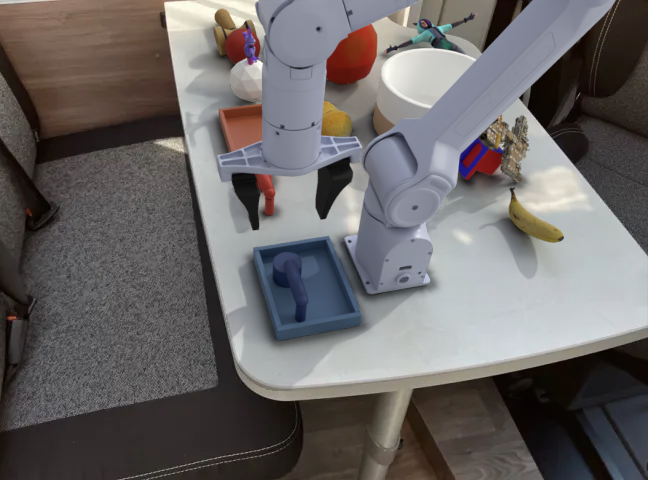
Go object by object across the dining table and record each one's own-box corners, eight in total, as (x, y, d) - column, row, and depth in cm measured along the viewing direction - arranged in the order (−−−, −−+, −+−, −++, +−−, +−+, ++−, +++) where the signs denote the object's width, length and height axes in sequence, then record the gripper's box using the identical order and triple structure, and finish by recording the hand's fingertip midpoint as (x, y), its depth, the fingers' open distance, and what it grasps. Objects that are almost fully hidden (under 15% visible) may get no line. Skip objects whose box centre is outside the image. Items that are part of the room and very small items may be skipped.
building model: (527, 122, 86) (539, 121, 85) (521, 187, 86) (533, 187, 85) (477, 96, 75) (490, 94, 74) (471, 170, 76) (483, 170, 74)
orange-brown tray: (294, 161, 86) (294, 151, 85) (234, 169, 85) (233, 159, 83) (274, 112, 94) (274, 102, 93) (218, 119, 93) (218, 108, 91)
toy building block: (483, 184, 86) (521, 139, 82) (464, 178, 84) (502, 132, 79) (471, 169, 88) (507, 124, 84) (451, 163, 86) (488, 117, 81)
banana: (559, 256, 75) (571, 234, 72) (543, 261, 74) (555, 239, 71) (510, 206, 81) (520, 183, 78) (495, 210, 80) (504, 187, 77)
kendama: (199, 34, 113) (222, 70, 100) (201, -1, 109) (226, 31, 96) (238, 37, 116) (266, 71, 103) (242, 2, 112) (271, 34, 99)
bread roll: (324, 156, 87) (326, 133, 84) (284, 128, 92) (285, 105, 89) (364, 135, 91) (367, 112, 88) (324, 109, 95) (326, 86, 92)
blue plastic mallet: (316, 321, 67) (319, 298, 64) (287, 326, 66) (288, 303, 63) (297, 264, 72) (298, 241, 69) (269, 269, 72) (270, 245, 69)
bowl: (449, 88, 100) (462, 41, 94) (505, 148, 89) (524, 99, 83) (355, 104, 96) (361, 56, 90) (402, 169, 85) (413, 119, 79)
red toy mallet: (283, 214, 79) (284, 190, 76) (258, 218, 78) (257, 194, 75) (268, 172, 84) (268, 149, 81) (244, 176, 84) (244, 152, 81)
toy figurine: (276, 113, 94) (278, 40, 85) (234, 117, 93) (231, 44, 84) (265, 81, 100) (265, 10, 91) (225, 85, 99) (222, 13, 90)
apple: (342, 102, 97) (349, 33, 88) (300, 76, 102) (304, 8, 93) (384, 81, 101) (396, 14, 93) (343, 57, 106) (350, -9, 98)
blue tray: (360, 325, 67) (362, 315, 66) (277, 341, 65) (277, 330, 64) (327, 246, 75) (329, 235, 74) (253, 258, 73) (253, 247, 72)
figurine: (433, 95, 96) (372, 30, 107) (430, 114, 100) (371, 49, 110) (534, 53, 99) (465, -7, 110) (528, 73, 103) (462, 13, 113)
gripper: (351, 81, 60) (338, 186, 70) (208, 98, 57) (216, 204, 67) (376, 121, 55) (358, 227, 65) (222, 142, 53) (228, 248, 63)
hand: (287, 218), depth 66 cm, fingers open, 7 cm apart
